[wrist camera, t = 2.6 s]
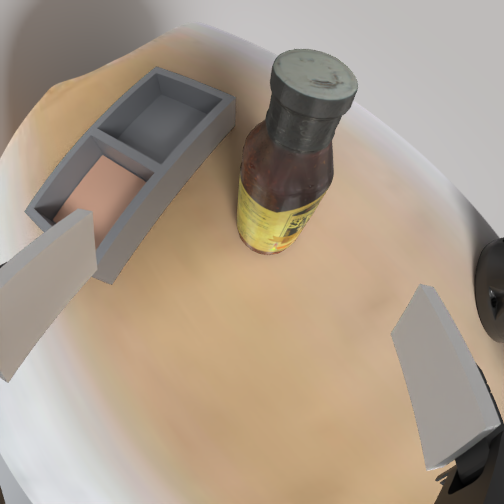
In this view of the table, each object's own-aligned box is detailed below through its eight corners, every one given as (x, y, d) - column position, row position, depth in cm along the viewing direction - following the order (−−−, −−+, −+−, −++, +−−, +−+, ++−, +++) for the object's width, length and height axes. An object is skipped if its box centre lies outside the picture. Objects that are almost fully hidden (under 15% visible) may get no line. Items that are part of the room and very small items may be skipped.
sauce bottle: (283, 267, 29) (368, 157, 10) (225, 241, 29) (215, 95, 10) (306, 212, 31) (389, 70, 11) (252, 188, 31) (276, 26, 12)
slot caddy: (235, 125, 33) (235, 97, 28) (111, 284, 27) (90, 276, 23) (162, 92, 34) (156, 66, 29) (47, 226, 28) (24, 211, 24)
